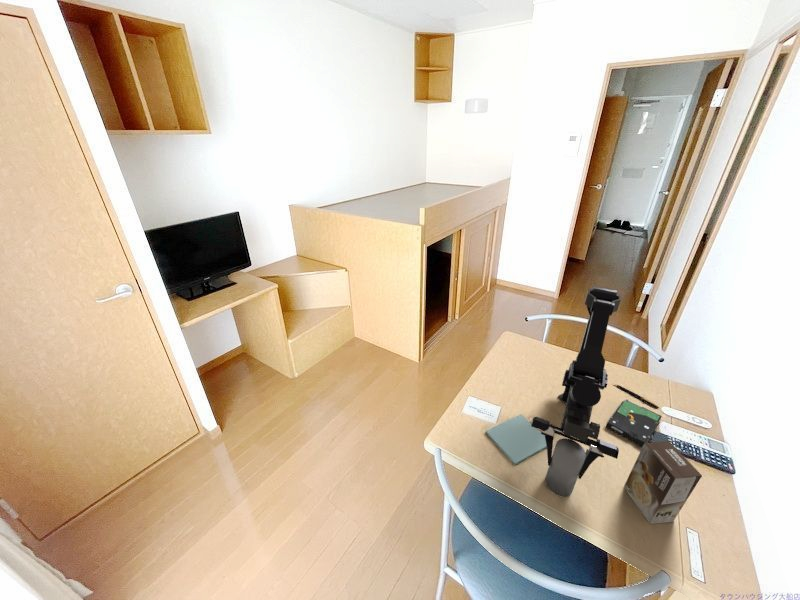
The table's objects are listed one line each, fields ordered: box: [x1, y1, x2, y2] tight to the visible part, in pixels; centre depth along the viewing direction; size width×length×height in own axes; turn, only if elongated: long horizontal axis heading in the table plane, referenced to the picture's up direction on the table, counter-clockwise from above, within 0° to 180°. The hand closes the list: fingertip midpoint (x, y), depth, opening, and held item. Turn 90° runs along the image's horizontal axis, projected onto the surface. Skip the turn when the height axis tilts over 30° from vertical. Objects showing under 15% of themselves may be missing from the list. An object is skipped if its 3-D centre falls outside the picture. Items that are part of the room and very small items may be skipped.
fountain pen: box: [613, 383, 660, 409], centre depth 110 cm, size 14×1×2 cm, turn 35°
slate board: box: [485, 413, 547, 466], centre depth 95 cm, size 14×12×1 cm
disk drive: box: [605, 398, 662, 448], centre depth 99 cm, size 10×3×15 cm
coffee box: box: [623, 440, 703, 525], centre depth 75 cm, size 9×6×16 cm
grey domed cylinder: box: [544, 437, 586, 498], centre depth 80 cm, size 6×6×13 cm
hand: (563, 471), depth 79 cm, fingers closed on grey domed cylinder, 6 cm apart
